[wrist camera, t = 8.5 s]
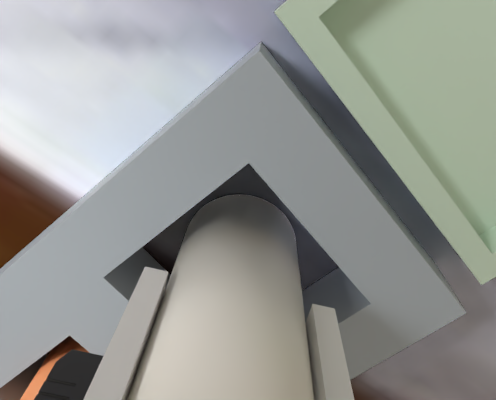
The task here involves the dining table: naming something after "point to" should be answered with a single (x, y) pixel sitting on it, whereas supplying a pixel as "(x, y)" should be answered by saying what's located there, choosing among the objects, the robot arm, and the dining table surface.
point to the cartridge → (230, 311)
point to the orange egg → (50, 366)
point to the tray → (419, 100)
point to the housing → (196, 189)
